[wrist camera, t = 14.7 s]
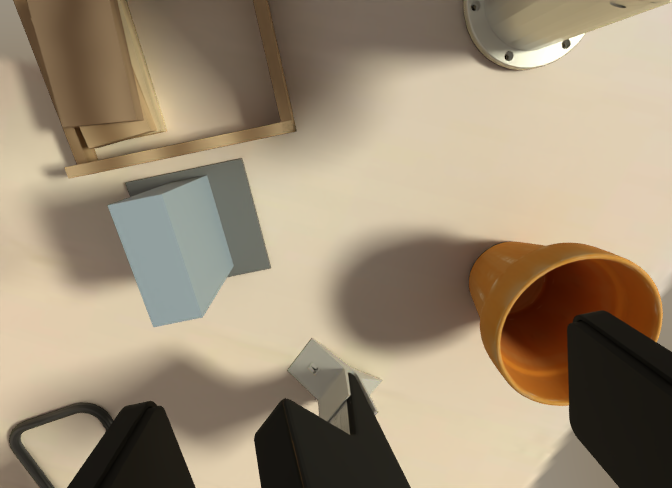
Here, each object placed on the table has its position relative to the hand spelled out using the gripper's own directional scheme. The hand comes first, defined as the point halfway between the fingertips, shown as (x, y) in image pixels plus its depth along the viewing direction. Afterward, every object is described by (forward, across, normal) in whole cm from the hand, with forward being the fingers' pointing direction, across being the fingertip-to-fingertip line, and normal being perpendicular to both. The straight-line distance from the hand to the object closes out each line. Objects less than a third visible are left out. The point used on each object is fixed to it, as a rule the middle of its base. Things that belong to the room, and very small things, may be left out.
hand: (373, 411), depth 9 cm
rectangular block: (+33, +14, +1) cm, 36 cm away
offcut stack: (+33, +18, -15) cm, 41 cm away
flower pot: (+34, -18, +14) cm, 41 cm away
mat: (+33, +14, +1) cm, 36 cm away
